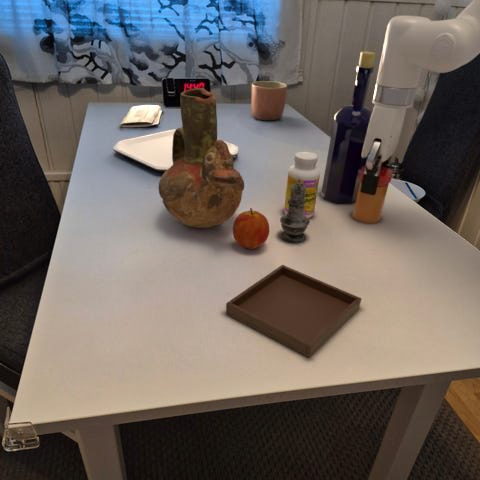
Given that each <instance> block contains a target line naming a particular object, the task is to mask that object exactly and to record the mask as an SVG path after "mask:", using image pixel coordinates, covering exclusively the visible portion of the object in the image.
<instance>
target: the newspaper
mask: <svg viewBox="0 0 480 480" xmlns="http://www.w3.org/2000/svg"><path fill="white" fill-rule="evenodd" d="M162 112H163V110H162V109H161V106H159V105H158V104H143V105H134V106H132V107H131V108H130V109H129V111H128V112H127V114H125V117H124V118H123V119H122V121H121V123H120V125H119V126H120V127H121V128H138V127H139V128H141V127H151V126H154V125H159V122H160V118H161V115H162Z"/></svg>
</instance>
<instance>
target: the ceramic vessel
mask: <svg viewBox="0 0 480 480" xmlns="http://www.w3.org/2000/svg"><path fill="white" fill-rule="evenodd" d="M179 101H180V108H179V109H180V117H181V124H182V125H181V126H180V127H178V128H176V131H175V132H174V135H173V147H172V160H173V165H172V166H171V167H170V168H169V169H167V170H166V171H165V172H163V174H162V175H161V177H160V178H159V181H158V193H159V197H160V198H161V199H162V204H163V206H164V208H165V210H166V211H167V212H168V213H169V214H171V215H172V216H173V217H174V218H175V219H176V220H177V221H179V223H181V224H182V225H184V226H188V227H193V228H198V229H205V228H206V229H207V228H211V227H214V226H219V225H221V224H223V223H225V222H226V221H228V220H229V219H231V217H233V215H234V214H235V213H236V211H237V210H238V208H239V207H240V204H241V202H242V197H243V191H244V190H245V180H244V179H243V176H242V175H241V173H240V171H238V170H237V169H236V168H235V165H234V163H235V161H234V157H235V156H234V157H233V155H232V154H231V153H230V152H229V149H228V146H227V144H226V143H225V142H226V141H224V140H223V139H219V140H217V139H218V114H217V113H218V112H217V99H216V97H215V96H214V93H213V92H211V91H208V90H206V89H205V88H203V87H194V88H189V89H186V90H184V91H182V92H180V95H179Z"/></svg>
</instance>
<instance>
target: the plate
mask: <svg viewBox="0 0 480 480" xmlns="http://www.w3.org/2000/svg"><path fill="white" fill-rule="evenodd" d="M176 129H177V128H176ZM176 129H169V130H164V131H159V132H154V133H151V134H146V135H142V136H136V137H133V138H128V139H123V140H119V141H117V142H116V143H115V145H114V146H113V148H112V150H113V152H116V153H118V154H120V155H122V156H124V157H126V158H128V159H131V160H133V161H135V162H137V163H139V164H141V165H144V166H146V167H148V168H151V169H152V170H154V171H157V172H162V173H165V171H166V170H167V169H169V168H170V167H171V166H172V165H173V160H172V147H173V135H174V132H175V131H176ZM217 140H220V139H219V138H217ZM224 142H225V143H226V144H227V146H228V149H229V152H230V153H231V154H232V155H233V157H236V156H238V155H239V147H238V146H237V145H235V144H232V143H230V142H227V141H224Z"/></svg>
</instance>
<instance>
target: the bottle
mask: <svg viewBox="0 0 480 480" xmlns="http://www.w3.org/2000/svg"><path fill="white" fill-rule="evenodd" d="M375 58H376V52H375V51H374V52H373V51H366V50H365V51H360V54H359V60H358V64H357V66H356V68H355V71H356V77H355V81H354V82H355V83H354V88H353V93H352V94H353V95H352V98H351V99H352V100H351V104H347V105H345V106H343V107H341V108H340V109H339V110H338V111H337V112H336V113H335V114H334V117H333V124H332V128H331V134H330V139H329V145H328V151H327V158H326V163H325V169H324V173H323V181H322V185H321V186H322V187H321V190H320V191H321V192H320V194H321V196H322V199H323V200H325V201H328V202H331V203H333V204H336V205H352V204H355V201H356V196H357V191H358V186H359V181H360V178H359V176H360V171H361V168H362V167H363V166H366V161H367V159H368V156H369V155H368V156H367V157H366V158H362V156H361V154H362V150H363V146H364V141H365V137H366V133H367V129H368V125H369V122H370V118H371V115H372V112H373V110H371V109H370V108H369V107H367V106H365V102H366V99H367V98H366V97H367V94H368V89H369V85H370V80H371V77H372V74H373V73H374V62H375Z"/></svg>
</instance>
